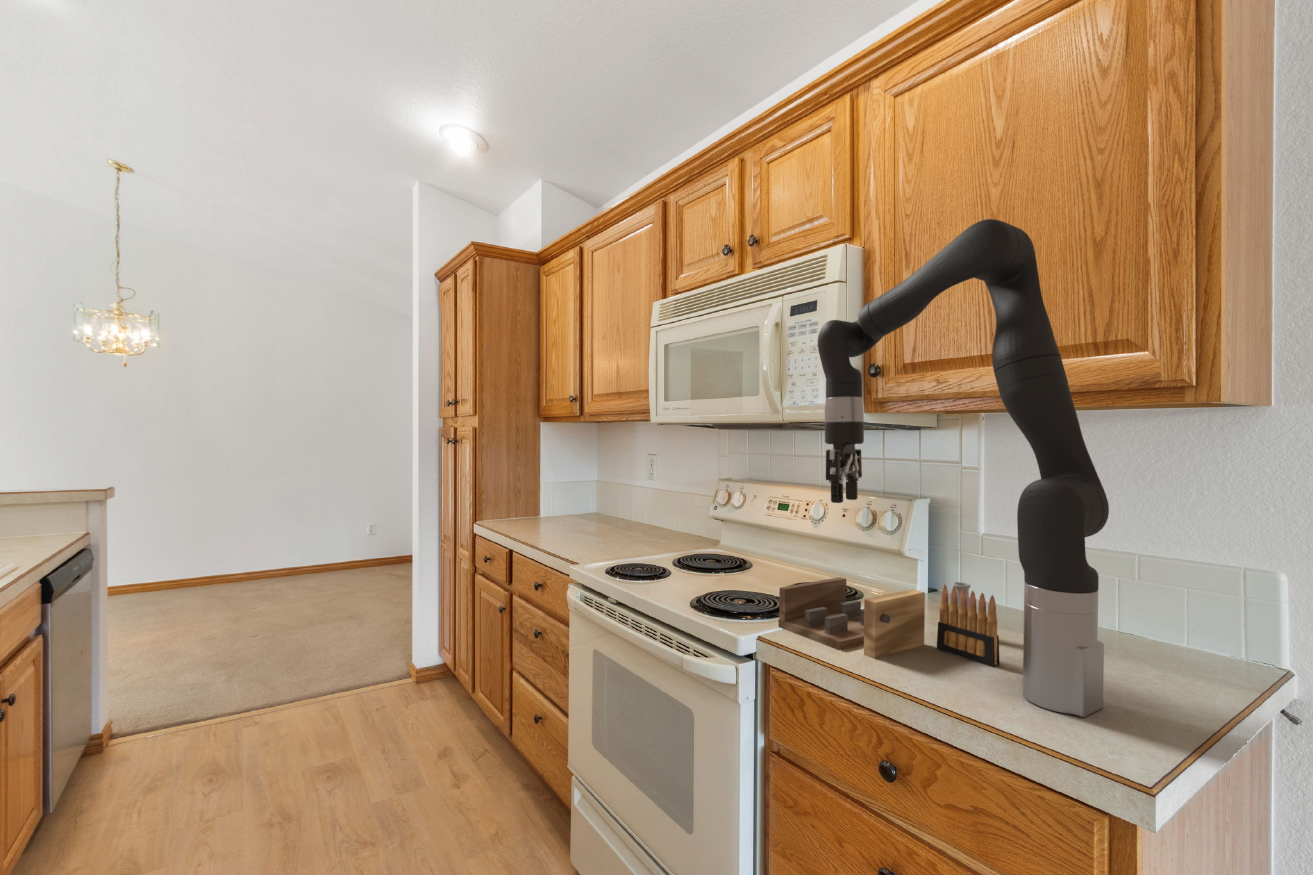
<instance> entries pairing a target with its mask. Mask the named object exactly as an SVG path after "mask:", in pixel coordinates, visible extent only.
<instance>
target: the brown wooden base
mask: <svg viewBox="0 0 1313 875" xmlns="http://www.w3.org/2000/svg"><path fill="white" fill-rule="evenodd" d="M778 594H779V599H778V600H779V602H778V603H779V607H778V608H779V610H778V612H779V613H778V614H779V616H778V617H779V618H778V625H777V626H778V628H781V629H784V630H786V629H787V631H790V632H792V633H794V634H797V635H800V636H802V637H805V638H807V639H810V640H811V641H814V642H818V643H820V644H823V645H825V646H828V647H831V648H833V649H835V650H838V651H841V650H845V649H849V648H852V647H853V648H854V647H856V646H859V645H864V608H862V601H861V600H858V599H855V600H851V601H847V578H845V577H842V576H840V577H834V578H833V577H832V578H829V579H822V580H816V581H811V582H804V583H798V584H792V585H786V586H782V587H781V586H780V587H779V593H778Z"/></svg>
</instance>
